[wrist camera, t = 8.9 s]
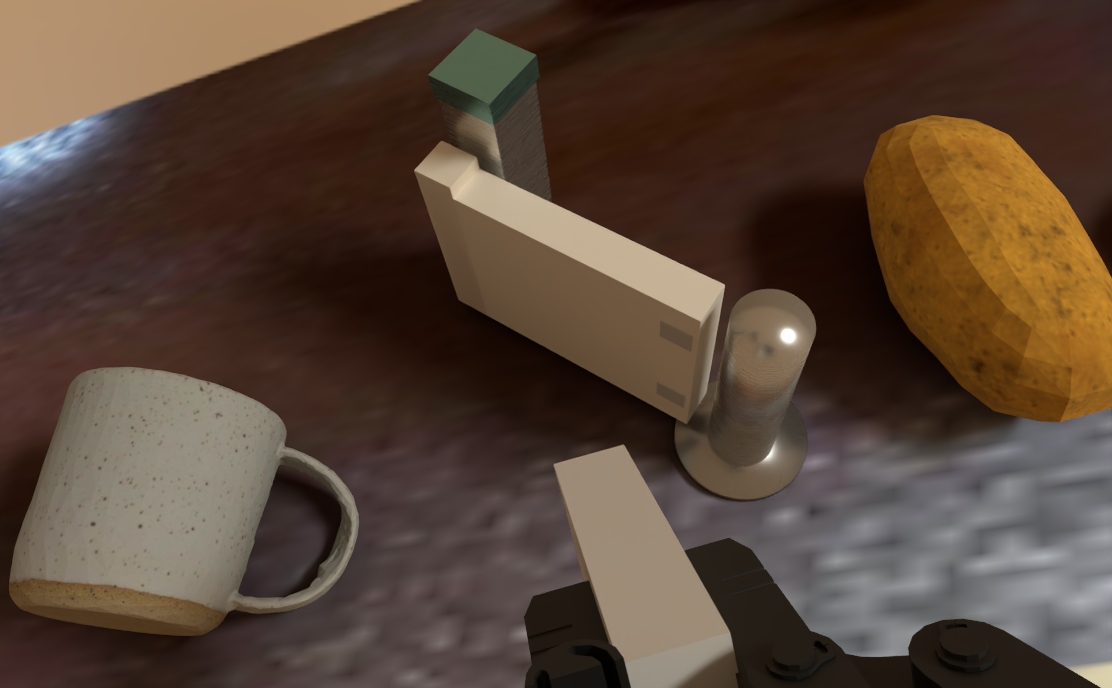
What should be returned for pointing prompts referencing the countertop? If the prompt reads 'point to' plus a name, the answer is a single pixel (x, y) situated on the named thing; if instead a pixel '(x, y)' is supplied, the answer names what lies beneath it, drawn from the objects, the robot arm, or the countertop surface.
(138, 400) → the ceramic mug
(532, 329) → the gate
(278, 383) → the countertop surface
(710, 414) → the gate posts
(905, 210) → the potato
